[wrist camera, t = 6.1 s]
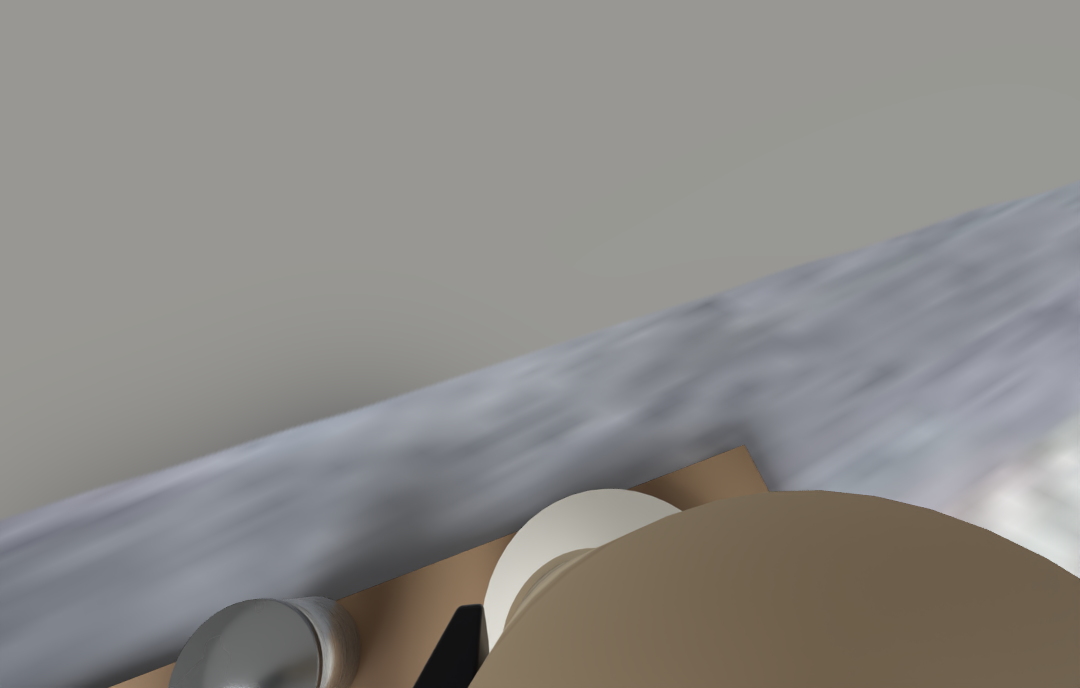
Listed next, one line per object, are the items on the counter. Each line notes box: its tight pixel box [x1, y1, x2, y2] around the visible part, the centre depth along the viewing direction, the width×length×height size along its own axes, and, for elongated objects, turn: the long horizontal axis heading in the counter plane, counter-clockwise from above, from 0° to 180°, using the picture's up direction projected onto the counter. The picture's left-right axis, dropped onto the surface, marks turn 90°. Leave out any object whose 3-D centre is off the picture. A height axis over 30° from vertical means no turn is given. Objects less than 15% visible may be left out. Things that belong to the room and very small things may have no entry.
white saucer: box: [483, 489, 681, 653], centre depth 19 cm, size 10×10×1 cm
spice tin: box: [168, 596, 360, 688], centre depth 17 cm, size 4×4×4 cm
